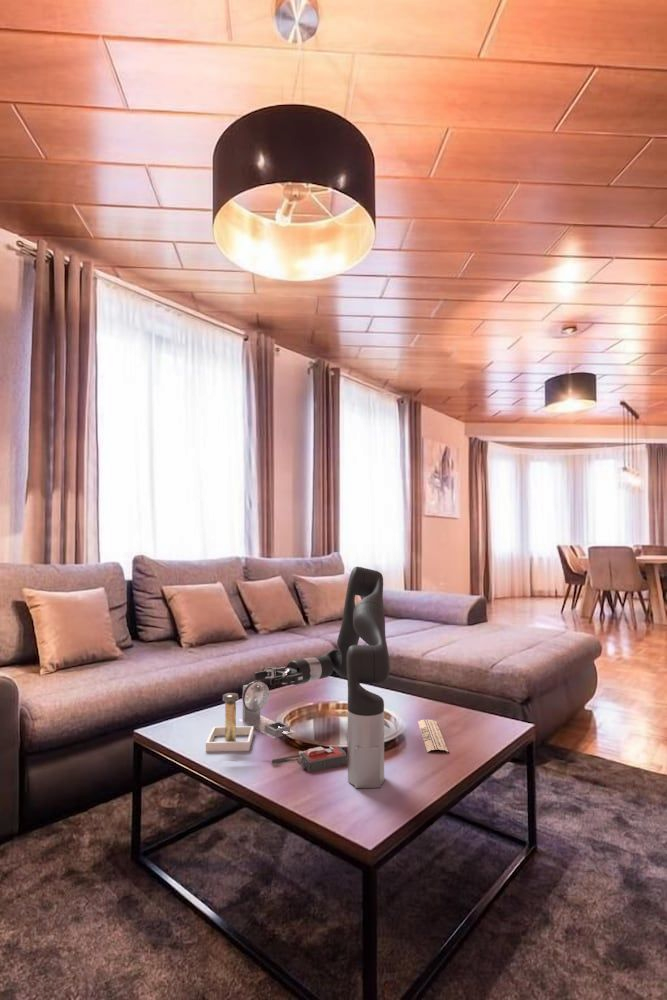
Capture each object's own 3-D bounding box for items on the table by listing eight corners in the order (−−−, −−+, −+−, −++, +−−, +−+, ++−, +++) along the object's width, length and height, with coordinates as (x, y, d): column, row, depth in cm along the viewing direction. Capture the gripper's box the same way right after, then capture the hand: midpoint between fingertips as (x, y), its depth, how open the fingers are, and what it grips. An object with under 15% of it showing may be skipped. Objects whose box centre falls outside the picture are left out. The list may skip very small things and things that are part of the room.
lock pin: (237, 747, 153) (237, 697, 153) (221, 747, 152) (221, 698, 153) (239, 740, 157) (239, 692, 157) (224, 741, 157) (224, 693, 157)
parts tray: (249, 754, 149) (249, 742, 149) (205, 755, 148) (205, 742, 148) (253, 738, 161) (253, 726, 161) (213, 738, 160) (213, 726, 160)
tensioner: (297, 734, 163) (297, 689, 164) (271, 743, 157) (272, 695, 158) (261, 717, 178) (261, 675, 179) (236, 724, 172) (236, 680, 173)
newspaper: (449, 755, 150) (448, 749, 150) (423, 755, 150) (423, 749, 150) (436, 725, 174) (436, 719, 174) (414, 724, 174) (414, 719, 174)
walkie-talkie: (338, 752, 151) (270, 765, 143) (338, 736, 152) (270, 748, 144) (351, 765, 143) (280, 779, 135) (351, 748, 144) (280, 761, 136)
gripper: (291, 655, 179) (249, 662, 168) (318, 662, 168) (276, 670, 157) (290, 678, 178) (249, 687, 167) (318, 686, 168) (276, 696, 157)
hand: (262, 679), depth 162 cm, fingers open, 8 cm apart
